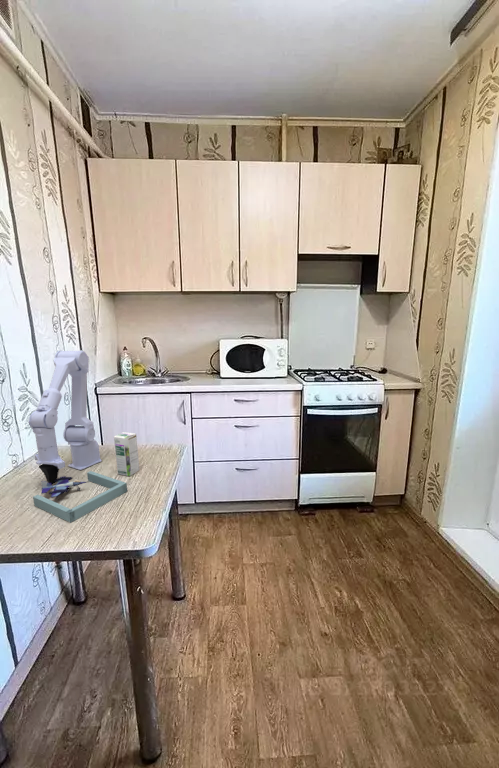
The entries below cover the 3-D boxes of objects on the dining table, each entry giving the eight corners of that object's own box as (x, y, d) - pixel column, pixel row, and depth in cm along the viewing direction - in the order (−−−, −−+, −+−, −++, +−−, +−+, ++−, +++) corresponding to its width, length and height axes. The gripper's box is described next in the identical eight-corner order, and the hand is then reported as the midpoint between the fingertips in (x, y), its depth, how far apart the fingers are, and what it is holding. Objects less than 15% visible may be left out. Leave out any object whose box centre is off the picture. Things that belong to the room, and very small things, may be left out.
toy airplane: (97, 487, 121) (95, 477, 120) (56, 507, 110) (55, 497, 109) (73, 479, 128) (72, 469, 127) (33, 497, 116) (31, 486, 116)
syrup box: (117, 474, 131) (112, 436, 128) (128, 467, 136) (124, 431, 133) (129, 476, 128) (125, 438, 125) (140, 469, 134) (136, 432, 131)
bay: (91, 478, 128) (90, 470, 127) (127, 491, 118) (126, 482, 118) (34, 505, 111) (32, 496, 110) (70, 522, 102) (69, 513, 101)
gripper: (23, 445, 120) (29, 483, 123) (47, 454, 113) (53, 493, 115) (44, 439, 126) (49, 475, 129) (68, 446, 118) (74, 484, 121)
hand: (52, 483), depth 123 cm, fingers closed
